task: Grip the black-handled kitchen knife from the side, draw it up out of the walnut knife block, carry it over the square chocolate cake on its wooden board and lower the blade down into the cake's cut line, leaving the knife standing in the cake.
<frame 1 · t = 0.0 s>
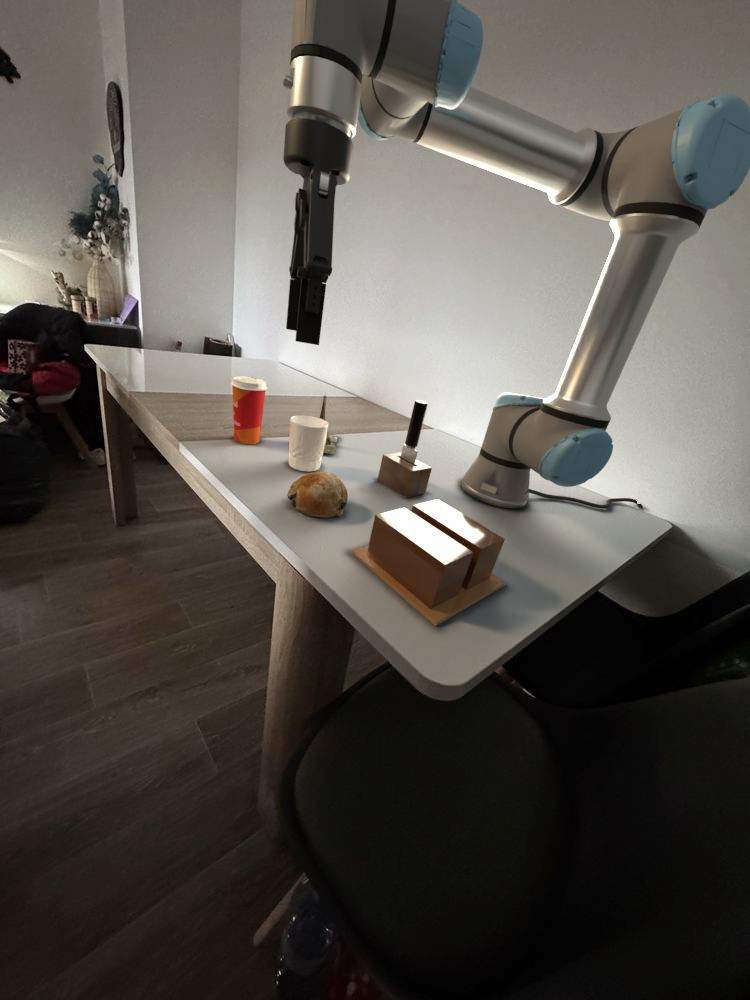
hand: (300, 336, 52), 28 cm above the table, tool pointing down, fingers open, 13 cm apart
knife: (410, 446, 81), in the knife block
paper cup: (246, 440, 92), on the table
bread roll: (316, 506, 70), on the table
knife block: (401, 486, 85), on the table
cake: (427, 569, 59), on the table
eiffel tower figurine: (316, 444, 99), on the table
white cup: (304, 466, 85), on the table
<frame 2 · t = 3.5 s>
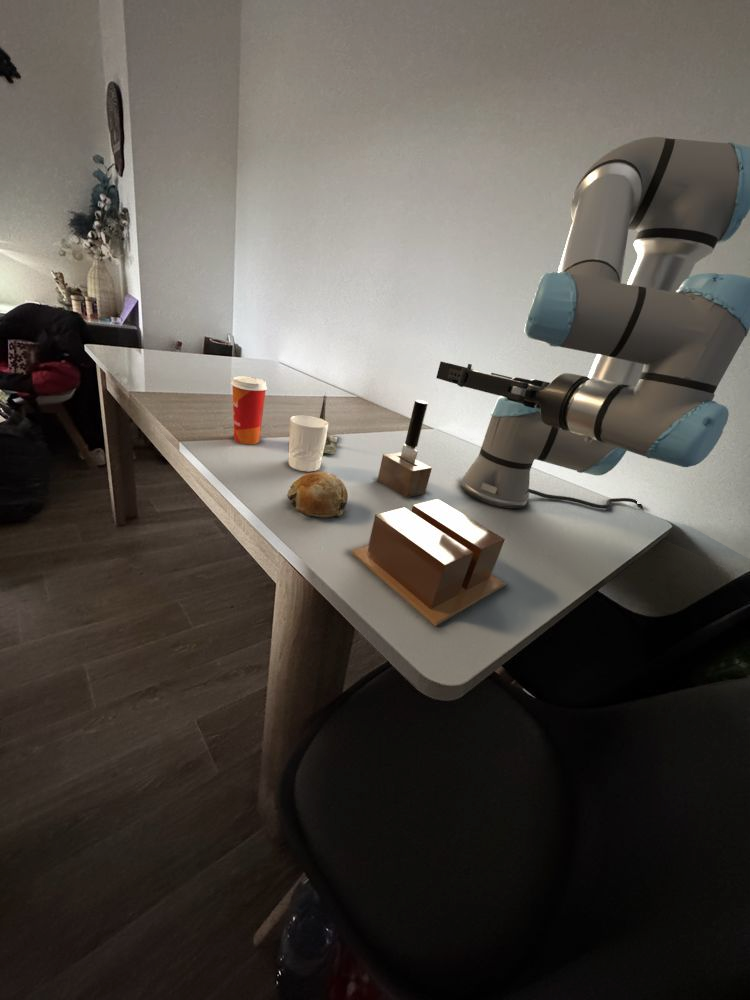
hand: (466, 375, 69), 26 cm above the table, tool horizontal, fingers open, 13 cm apart
nothing on the table moved.
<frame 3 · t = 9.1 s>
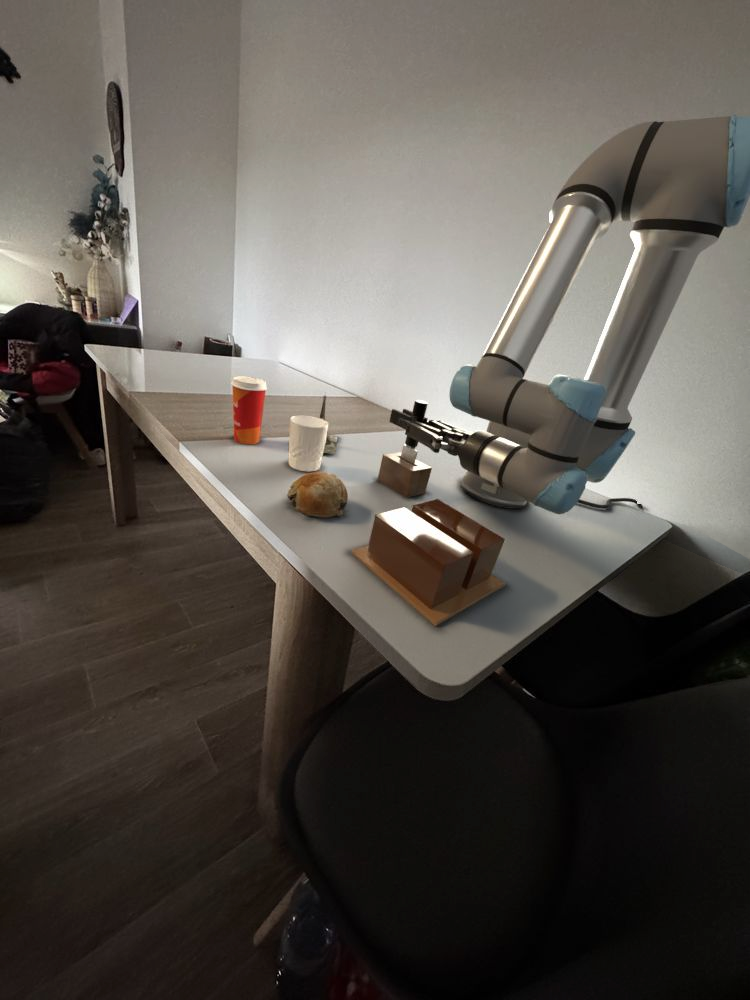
hand: (397, 415, 82), 14 cm above the table, tool horizontal, fingers closed on knife, 3 cm apart
knife: (410, 446, 81), in the knife block, touching gripper
everything else where it was.
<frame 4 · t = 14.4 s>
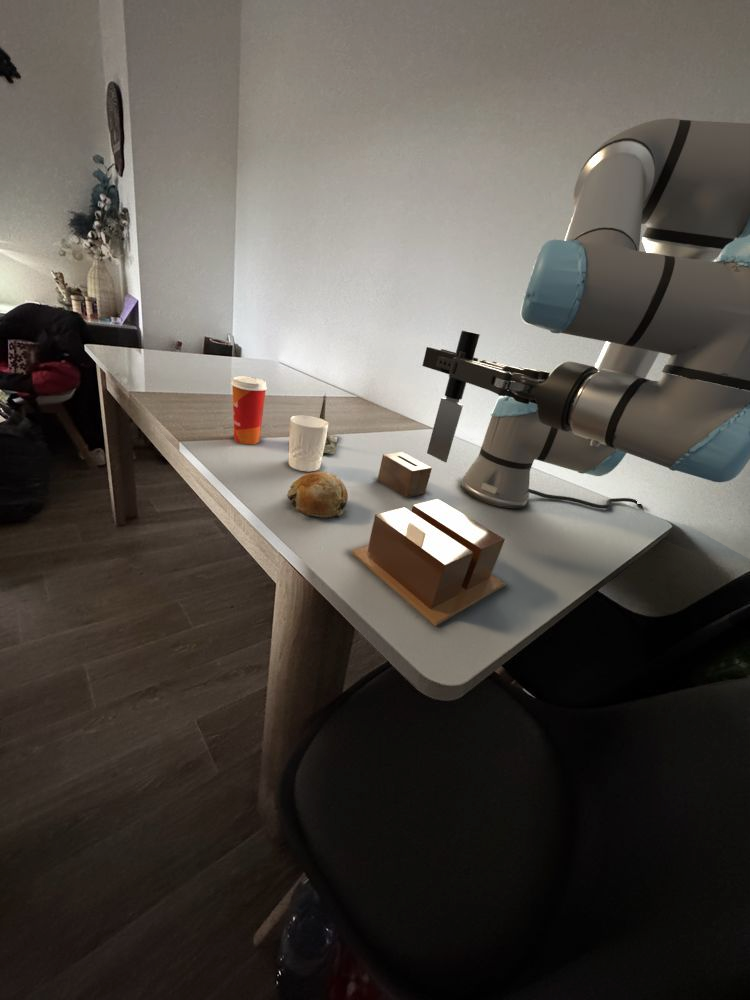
hand: (433, 357, 59), 28 cm above the table, tool horizontal, fingers closed on knife, 3 cm apart
knife: (452, 399, 58), point 23 cm above the table, touching gripper
everything else where it was.
when the fingers open (15 cm above the table, at t = 19.8 s): knife stays where it is, resting on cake.
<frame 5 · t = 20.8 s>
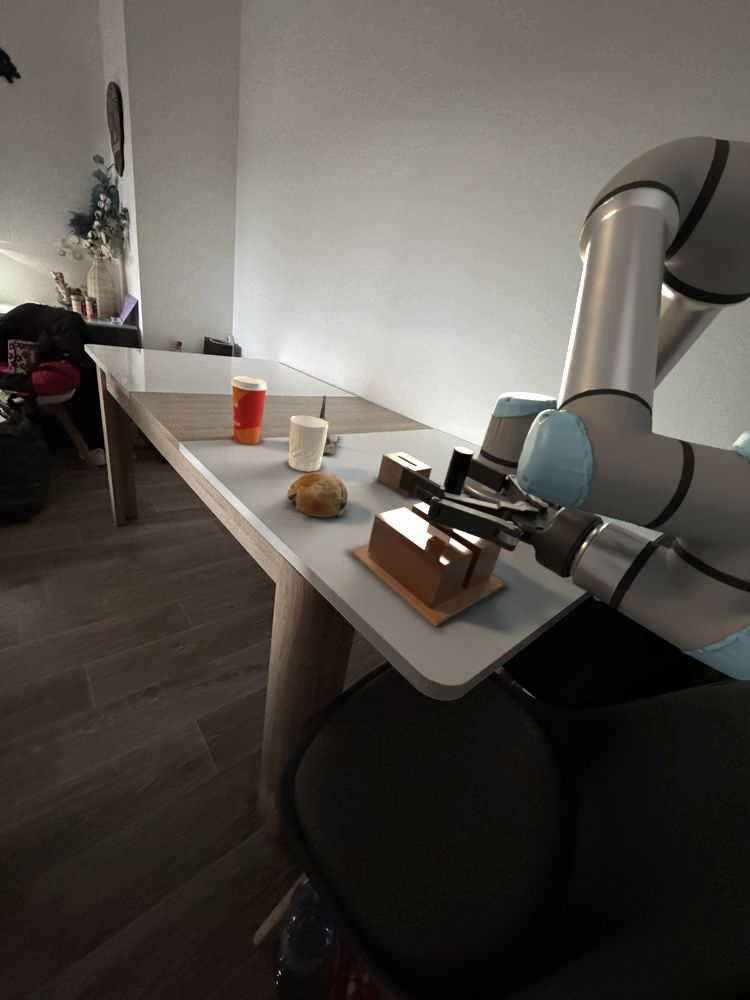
hand: (436, 470, 54), 15 cm above the table, tool horizontal, fingers open, 13 cm apart
knife: (444, 512, 54), point 10 cm above the table, touching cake
everything else where it was.
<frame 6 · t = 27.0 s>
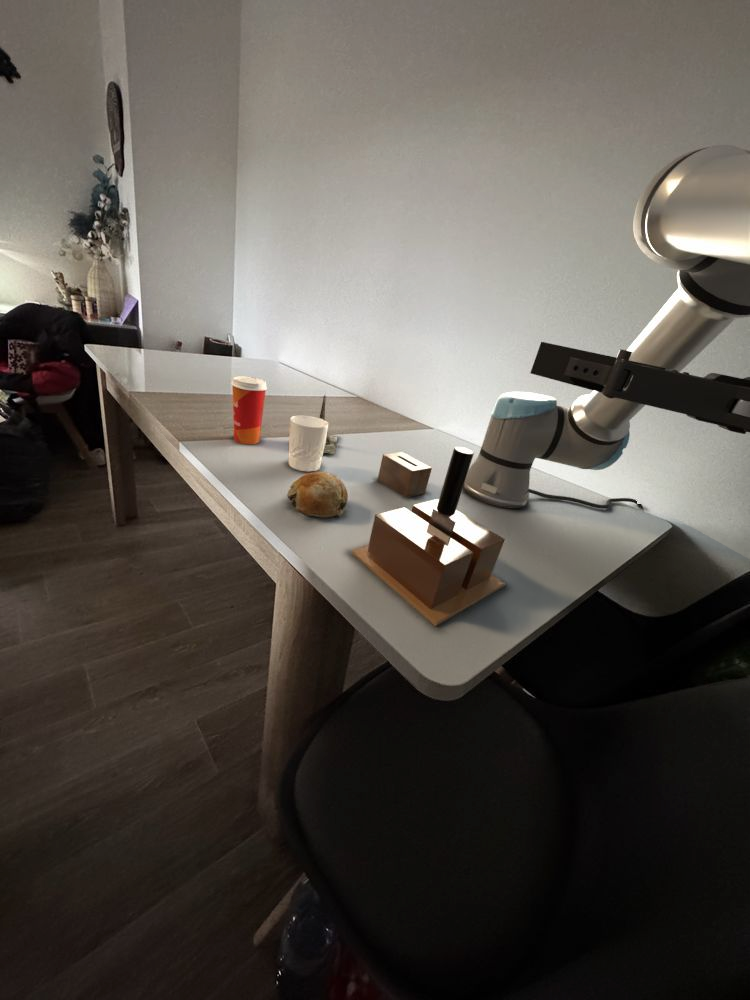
hand: (568, 362, 39), 32 cm above the table, tool horizontal, fingers open, 13 cm apart
nothing on the table moved.
at the end: knife 0.1 cm from the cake (horizontally); knife point 9.9 cm above the table; knife tilted 0° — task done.
